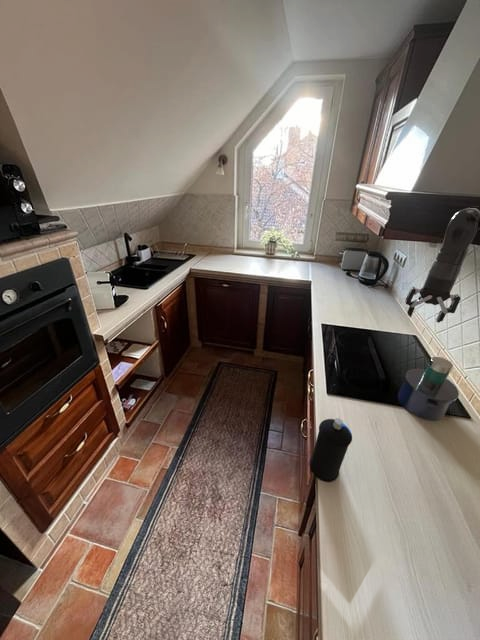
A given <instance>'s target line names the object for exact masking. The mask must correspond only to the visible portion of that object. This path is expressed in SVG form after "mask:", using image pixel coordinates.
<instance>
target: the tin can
mask: <svg viewBox="0 0 480 640" xmlns="http://www.w3.org/2000/svg"><path fill="white" fill-rule="evenodd" d="M453 368H454V365H453V363H452V362H451V361H450V360H448V359H446V358H444V357H440V356H433V357H431V358H430V361H429V363H428V365H426V368H425V372H424V374H423V376H422V378H421V381H422V383H423V384H424V385H426V386H427V387H429V388H432V389H440V388H441V387H442V385H443V383H444V382H445V380H446V378H447V379H448V376H449V375H450V373H451V371H452V369H453Z"/></svg>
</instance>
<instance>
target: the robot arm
mask: <svg viewBox="0 0 480 640" xmlns="http://www.w3.org/2000/svg"><path fill="white" fill-rule="evenodd" d="M477 230H480V210H479V209H477V208H470V207H466V208H463V209H461V210H458V211H457V212H455V213H454V214H453V215H452V217H451V219H450V220H449V223H448V224H447V228H446V230H445V233H444V237H443V241H442V244H441V246H440V248H439V249H438V252H437V255H436V257H435V259H434V261H433V263H432V265H431V267H430V269H429V270H428V274H427V277H426V279H425V281H424V284H423V286H422V288H416V287H415V286H411V287H410V289H409V291H408V293H407V296H406V297H405V299H404V301H405V305H407V306H408V309H407V310H406V313H407V314H406V315H408V317H409V318H412V316H413V313H414V311H415V309H416V307H417V306H419V305H422V304H423V303H424V304H427V305H433V306H438V305H439V307H440V309H441V310H439V313H438V315H437V316H436V318H435V322H436V323H439V324H440V323H441V322H443V321H444V319H445V317H446V316H447V314H455V313H456V310H457V308H458V306H459V303H460V301H461V296H460V295H459V294H458V293H455V294H452V293H451V292H452V290H453V288H454V285H455V284H456V282H457V279H458V278H459V275H460V273H461V270H462V267H463V264H464V262H465V260H466V258H467V256H468V253H469V251H470V246H471V244H472V242H473V240H474V238H475V236H476V235H477V233H478V232H477ZM417 294H419V296H417V297H416V299H414V298H413V297H414V296H415V295H417ZM413 299H414V300H413ZM449 299H450V301H451V302H450V304H449V307H447V306H446V305H445V301H447V300H449Z"/></svg>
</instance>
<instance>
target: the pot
mask: <svg viewBox="0 0 480 640" xmlns="http://www.w3.org/2000/svg"><path fill="white" fill-rule="evenodd" d="M425 370H426V368H425V369H424V368H411V369H409V370H407V371H406V372H405V375H404V380H403V382H402V385H401V386H400V389H399V391H398V393H397V400H398V402H399V403H400V405H401V406H402V407H403V408H404V409H405V410H406V411H408V412H409V413H410V414H412V415H413V416H415V417H418V418H421V419H423V420H426V421H440V420H442V419H444V417H445V415H446V414H447V412H448V411H449V409H450V407H451V406H452V404H453V403H454V402H455V401H456V400H457V399H458V398H459V395H460V393H459V390H458V387H457V386H456V385H455V384H454V383H453V382H452V381H451V380H450V379H448V377H447V378H446V380H445V382H444V383H443V385H442V387H441V388H440V389H432V388H429V387H427V386H426V385H424V384H423V383H422V381H421V378H422V376H423V374H424V372H425Z"/></svg>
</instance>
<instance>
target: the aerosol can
mask: <svg viewBox="0 0 480 640" xmlns="http://www.w3.org/2000/svg"><path fill="white" fill-rule="evenodd" d="M352 434H353V433H352V431H351V430H350V428H349V427H348V426H347V425H346V424H345V423H344V421H343V419H341V418H338V417H336V418H334V419H333V418H327V419H324V420H322V421H321V422H320V423H319V425H318V434H317V436H316V440H315V444H314V447H313V450H312V451H313V452H312V455H311V456H310V459H309V469H310V471H311V473H312V474H313V476H315V478H317V479H318V480H320V481H322V482H326V483H331V482H335V480H337V479H338V477H339V475H340V469H341V466H342V465H343V462H344V459H345V456H346V453H347V452H348V451H347V450H348V449H349V446H350V444H351V443H352V441H353V435H352Z"/></svg>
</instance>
